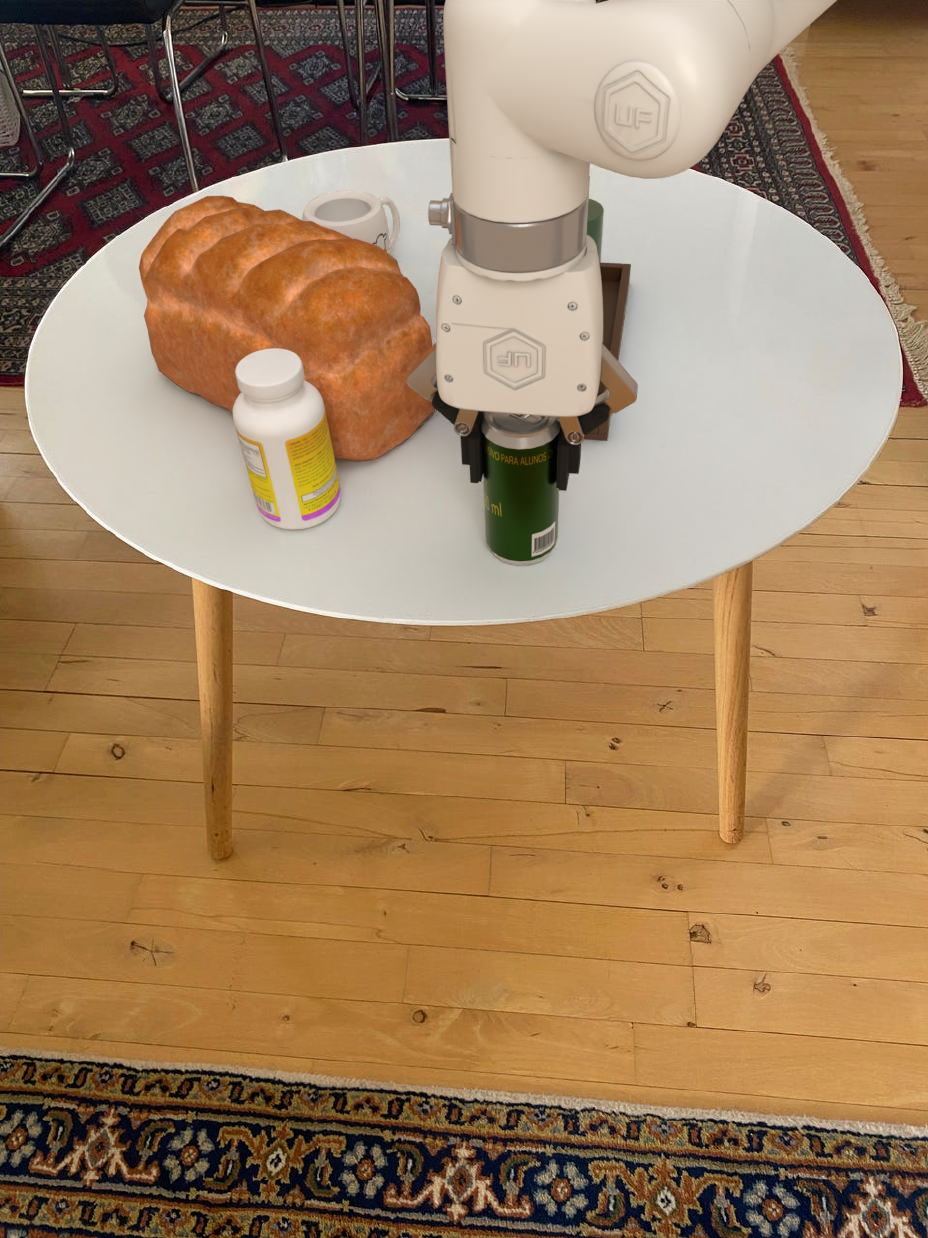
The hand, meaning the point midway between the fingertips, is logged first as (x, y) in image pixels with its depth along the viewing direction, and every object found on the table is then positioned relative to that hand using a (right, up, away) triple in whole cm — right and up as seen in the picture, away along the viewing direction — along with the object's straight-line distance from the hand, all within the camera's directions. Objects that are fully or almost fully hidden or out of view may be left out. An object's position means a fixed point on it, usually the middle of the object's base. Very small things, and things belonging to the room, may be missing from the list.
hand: (521, 472), depth 69 cm
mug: (-14, +25, +34) cm, 44 cm away
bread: (-19, +10, +20) cm, 29 cm away
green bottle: (+6, +21, +27) cm, 35 cm away
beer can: (0, -5, +5) cm, 7 cm away
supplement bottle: (-17, -1, +9) cm, 19 cm away
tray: (+5, +14, +22) cm, 27 cm away
